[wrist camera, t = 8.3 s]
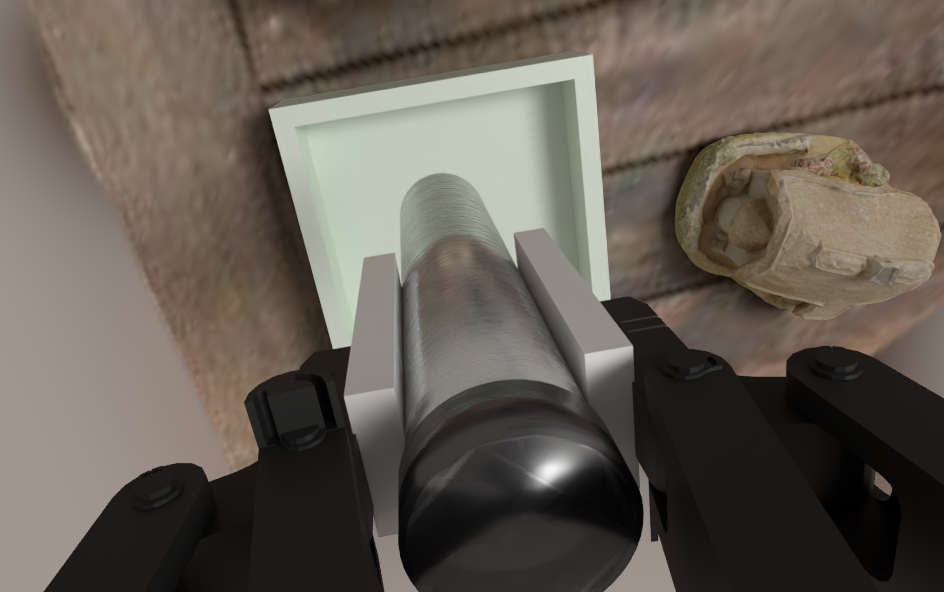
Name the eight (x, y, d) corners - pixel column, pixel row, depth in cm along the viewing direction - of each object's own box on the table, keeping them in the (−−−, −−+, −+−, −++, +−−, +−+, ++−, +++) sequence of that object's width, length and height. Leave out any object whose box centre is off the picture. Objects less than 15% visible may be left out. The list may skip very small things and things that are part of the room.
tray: (282, 99, 35) (268, 109, 32) (572, 50, 36) (592, 54, 32) (349, 357, 42) (344, 390, 38) (595, 312, 42) (613, 340, 38)
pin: (389, 177, 23) (375, 454, 8) (480, 163, 23) (639, 406, 8) (405, 264, 24) (421, 645, 9) (492, 250, 24) (647, 601, 9)
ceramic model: (913, 154, 40) (1064, 194, 31) (835, 316, 44) (949, 394, 35) (706, 103, 38) (804, 130, 29) (644, 280, 42) (713, 354, 33)
